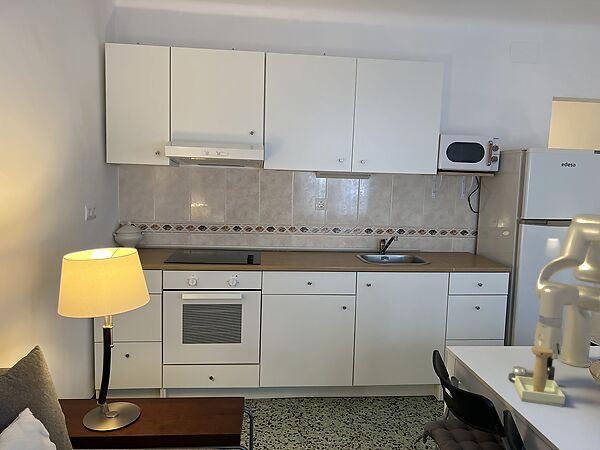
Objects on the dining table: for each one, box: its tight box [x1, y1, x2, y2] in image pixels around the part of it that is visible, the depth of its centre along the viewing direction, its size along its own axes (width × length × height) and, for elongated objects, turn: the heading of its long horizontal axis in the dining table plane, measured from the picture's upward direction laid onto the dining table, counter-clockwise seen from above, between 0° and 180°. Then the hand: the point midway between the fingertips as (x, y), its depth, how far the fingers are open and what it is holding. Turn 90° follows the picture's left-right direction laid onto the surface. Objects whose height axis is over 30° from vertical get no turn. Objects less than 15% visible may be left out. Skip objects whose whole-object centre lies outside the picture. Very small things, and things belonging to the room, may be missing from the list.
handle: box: [531, 346, 553, 393], centre depth 160 cm, size 5×6×15 cm
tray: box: [514, 376, 566, 408], centre depth 161 cm, size 13×13×4 cm
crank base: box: [507, 372, 566, 388], centre depth 171 cm, size 7×19×2 cm, turn 76°
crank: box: [512, 365, 556, 381], centre depth 171 cm, size 14×4×5 cm, turn 75°
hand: (546, 369), depth 173 cm, fingers closed
